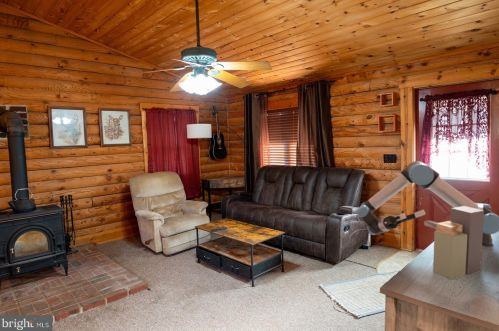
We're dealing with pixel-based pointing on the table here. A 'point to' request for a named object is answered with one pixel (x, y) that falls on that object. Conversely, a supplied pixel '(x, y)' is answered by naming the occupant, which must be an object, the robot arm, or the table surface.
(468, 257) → the tall stand
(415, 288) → the table surface
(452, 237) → the low stand
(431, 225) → the handle block
